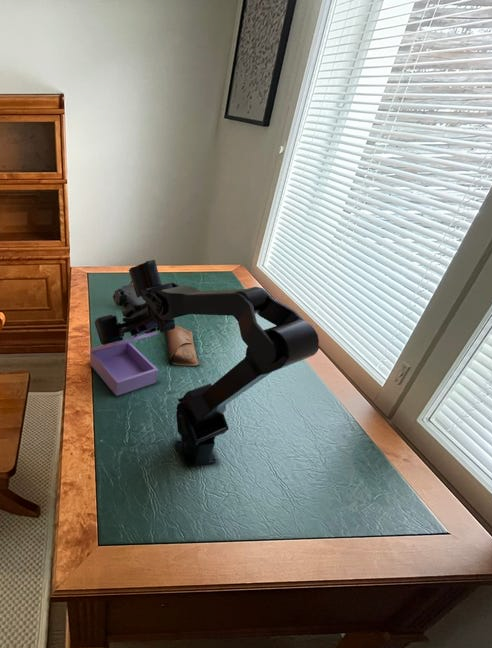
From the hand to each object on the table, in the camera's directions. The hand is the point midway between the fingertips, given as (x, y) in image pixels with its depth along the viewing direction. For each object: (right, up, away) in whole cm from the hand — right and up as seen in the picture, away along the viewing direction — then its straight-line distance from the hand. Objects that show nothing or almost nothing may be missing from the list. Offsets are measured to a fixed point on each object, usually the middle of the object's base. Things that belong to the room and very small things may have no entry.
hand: (119, 330), depth 97 cm
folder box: (+1, -11, +5) cm, 12 cm away
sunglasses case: (+19, -4, +16) cm, 25 cm away
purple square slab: (+1, -3, 0) cm, 3 cm away
